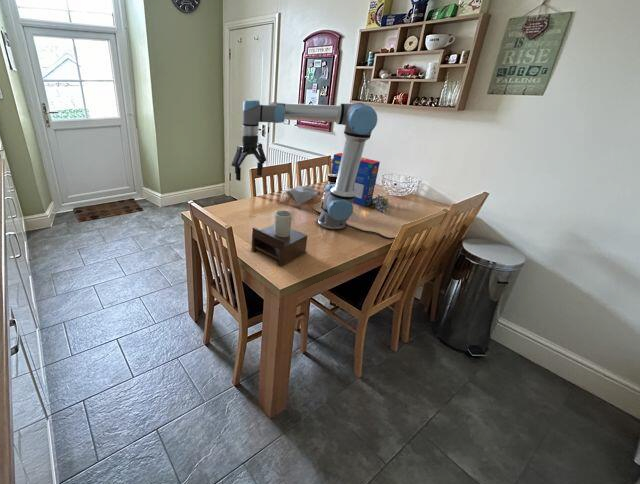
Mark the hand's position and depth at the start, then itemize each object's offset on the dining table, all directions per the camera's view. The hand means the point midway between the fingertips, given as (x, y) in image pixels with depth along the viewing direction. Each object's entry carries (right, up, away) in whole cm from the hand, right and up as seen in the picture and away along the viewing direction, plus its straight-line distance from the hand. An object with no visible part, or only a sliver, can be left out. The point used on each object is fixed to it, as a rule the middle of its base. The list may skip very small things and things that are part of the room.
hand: (248, 177), depth 164 cm
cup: (+15, -27, -13) cm, 34 cm away
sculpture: (+35, -9, +51) cm, 62 cm away
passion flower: (+81, -15, +39) cm, 91 cm away
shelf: (+14, -36, -10) cm, 40 cm away
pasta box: (+69, -7, +55) cm, 89 cm away
